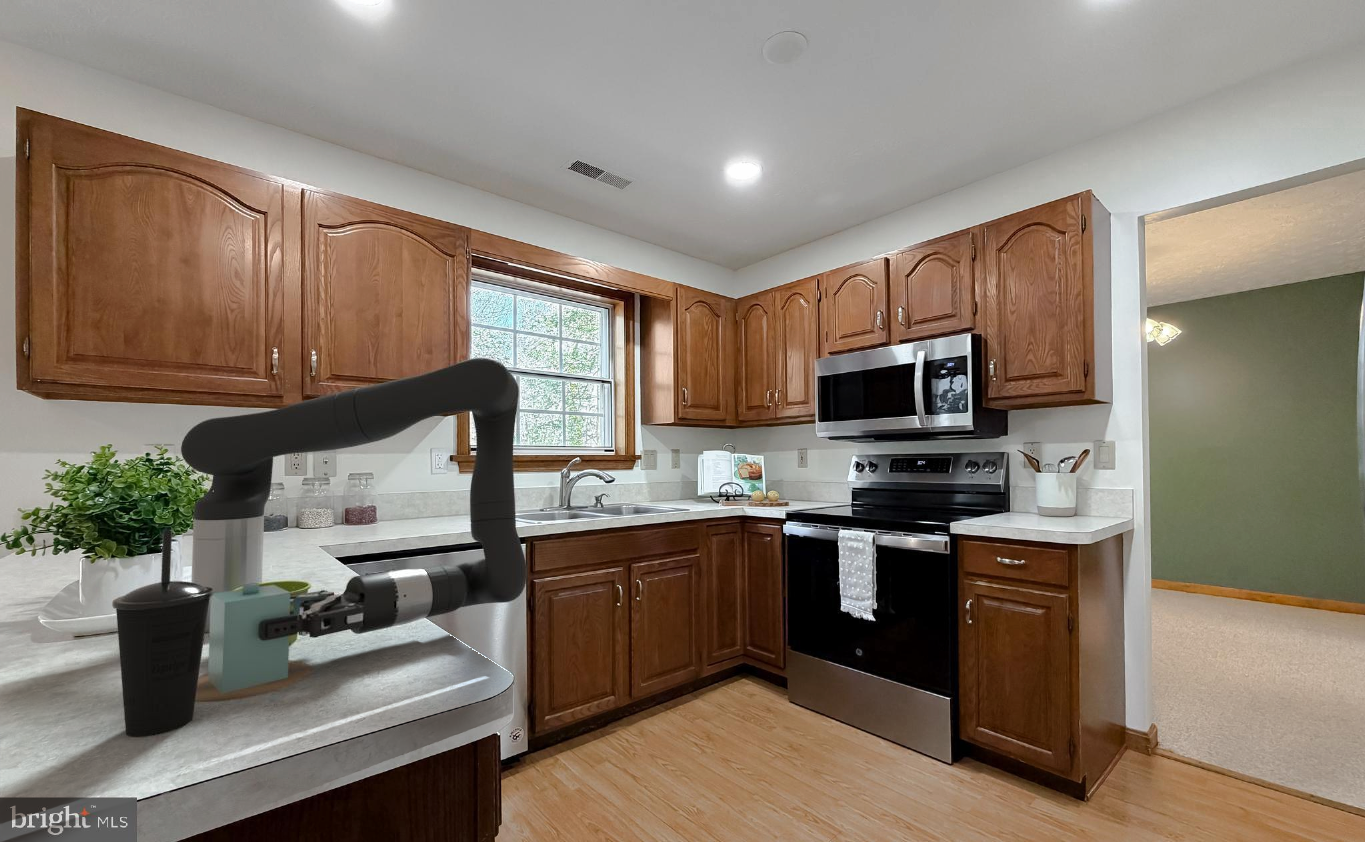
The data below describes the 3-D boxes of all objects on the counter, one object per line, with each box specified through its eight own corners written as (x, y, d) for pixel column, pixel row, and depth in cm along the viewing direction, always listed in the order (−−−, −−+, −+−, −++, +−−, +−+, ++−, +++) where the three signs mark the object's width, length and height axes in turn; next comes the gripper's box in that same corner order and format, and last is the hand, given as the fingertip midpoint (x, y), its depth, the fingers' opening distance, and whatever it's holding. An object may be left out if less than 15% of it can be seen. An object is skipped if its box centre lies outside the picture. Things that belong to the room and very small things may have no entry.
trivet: (165, 689, 71) (165, 680, 71) (291, 660, 81) (292, 653, 81) (188, 722, 63) (189, 712, 63) (327, 685, 72) (327, 676, 72)
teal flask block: (207, 679, 72) (211, 585, 72) (271, 665, 76) (273, 576, 77) (221, 693, 67) (225, 593, 68) (287, 677, 72) (290, 584, 73)
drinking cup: (197, 711, 65) (204, 523, 66) (218, 732, 60) (225, 529, 61) (99, 737, 59) (108, 531, 60) (113, 763, 54) (123, 538, 55)
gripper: (369, 565, 89) (234, 583, 77) (412, 578, 80) (267, 602, 68) (368, 617, 89) (233, 643, 77) (411, 636, 79) (265, 670, 67)
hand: (249, 624), depth 72 cm, fingers open, 8 cm apart
